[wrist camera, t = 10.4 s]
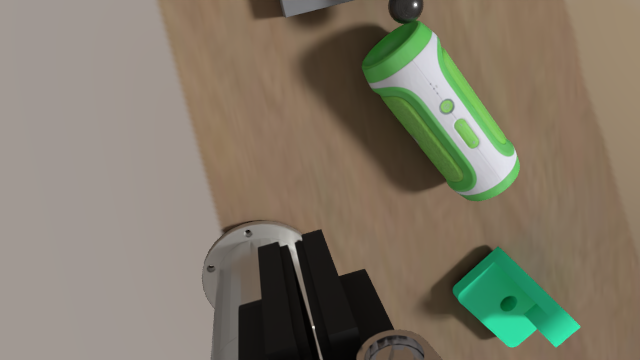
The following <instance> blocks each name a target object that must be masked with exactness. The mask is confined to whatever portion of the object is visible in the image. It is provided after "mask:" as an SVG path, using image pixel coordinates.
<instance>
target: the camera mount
mask: <svg viewBox="0 0 640 360" xmlns="http://www.w3.org/2000/svg"><path fill="white" fill-rule="evenodd" d="M453 294H454V295H455V297H456V298H457V299H458V301H459V302H460V303H461V304H462V305H463V306H464V307H465V308H466V309H468V310H469V311H470V312H471V313H472V314H473V315H474V316H475V317H476V318H477V319H479V320H480V321H481V322H482V323H483V324H484V325H485V326H486V327H487V328H488V329H490V330H491V331H492V332H493V333H494V334H495V335H496V336H497V337H498V338H499V339H501V340H502V341H503V342H504V343H505V344H506V345H507V346H508V347H516V346H518V345H519V344H520V343H521V342H522V341H524V340H525V339H526V338H527V337H528V336H529V335H531V334H532V333H533V332H534V331H535V330H536V329H538V330H539V331H540V332H541V333H542V334H543V335H544V336H545V337H546V338H547V339H548V340H549V341H550V342H551V343H552V344H553V345H554V346H555V347H557V346H559V345H560V344H561V343H562V342H563V341H565V340H566V339H567V338H568V337H569V336H570V335H572V334H573V333H574V332H575V331H576V330H578V329H579V328H580V326H579V325H578V323H577V322H576V321H575V320H574V319H573V318H572V317H571V316H570V315H569V314H568V313H567V312H566V311H565V310H564V309H563V308H562V307H560V306H559V305H558V304H557V303H556V302H555V301H554V300H553V299H552V298H551V297H550V296H549V295H548V294H547V293H546V292H545V291H544V290H543V289H542V288H541V287H540V286H539V285H538V284H537V283H536V282H535V281H534V280H533V279H532V278H531V277H530V276H529V275H528V274H526V273H525V272H524V271H523V270H522V269H521V268H520V267H519V266H518V265H517V264H516V263H515V262H514V261H513V260H512V259H511V258H510V257H509V256H508V255H507V254H506V253H505V252H504V251H503V250H502V249H501V248H499V247H497V248H496V249H494V250H493V251H492V252H491V253H490V254H489V255H488V256H487V257H486V258H484V259H483V260H482V261H481V262H480V263H479V264H478V265H477V266H476V267H474V268H473V269H472V270H471V271H470V272H469V273H468V274H467V275H466V276H464V277H463V278H462V279H461V280H460V281H459V282H458V283H457V284H456V285H455V286H454V287H453Z"/></svg>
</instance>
